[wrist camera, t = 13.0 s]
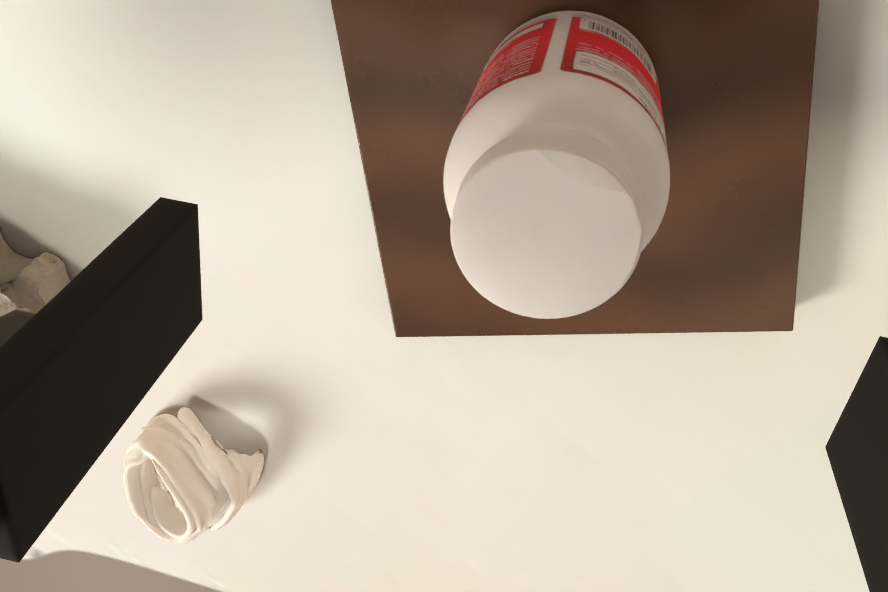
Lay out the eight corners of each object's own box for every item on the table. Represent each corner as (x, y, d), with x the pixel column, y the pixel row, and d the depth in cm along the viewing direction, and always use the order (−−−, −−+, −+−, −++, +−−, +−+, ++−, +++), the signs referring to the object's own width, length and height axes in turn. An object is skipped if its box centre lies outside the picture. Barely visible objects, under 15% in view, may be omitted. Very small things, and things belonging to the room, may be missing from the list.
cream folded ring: (242, 516, 48) (212, 592, 44) (125, 474, 47) (85, 548, 43) (281, 428, 43) (252, 505, 39) (152, 379, 42) (109, 453, 38)
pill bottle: (484, 177, 32) (426, 338, 23) (478, 8, 29) (408, 115, 20) (654, 179, 31) (667, 351, 21) (666, 4, 28) (687, 116, 18)
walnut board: (307, -198, 28) (292, -197, 27) (831, -284, 24) (842, -287, 23) (403, 319, 38) (395, 337, 36) (786, 311, 34) (793, 331, 33)
